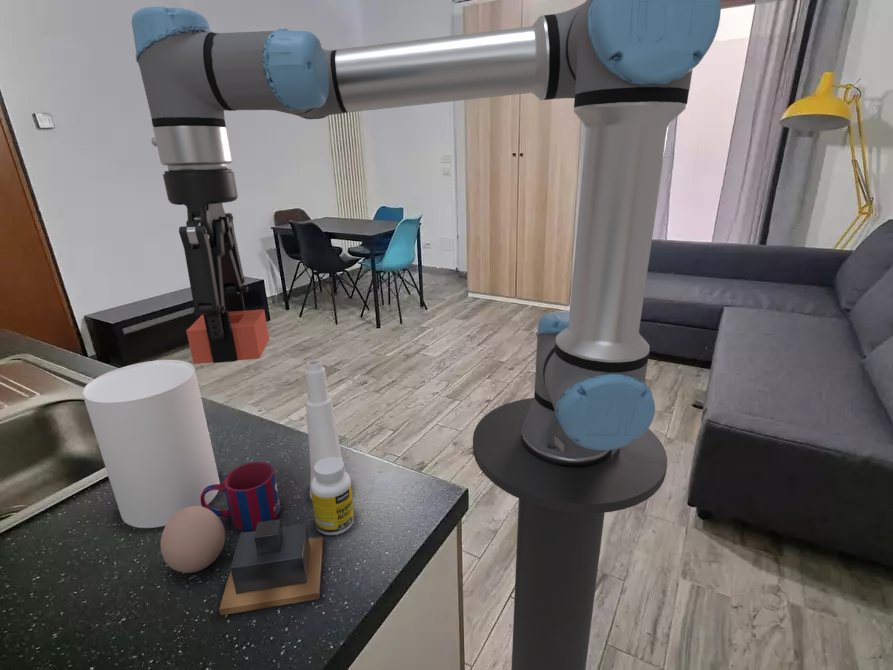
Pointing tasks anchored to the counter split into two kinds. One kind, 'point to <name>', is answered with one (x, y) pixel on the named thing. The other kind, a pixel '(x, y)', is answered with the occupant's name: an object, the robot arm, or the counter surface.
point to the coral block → (246, 335)
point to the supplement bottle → (332, 496)
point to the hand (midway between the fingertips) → (232, 349)
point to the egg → (192, 539)
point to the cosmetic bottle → (320, 416)
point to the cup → (248, 495)
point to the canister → (152, 439)
